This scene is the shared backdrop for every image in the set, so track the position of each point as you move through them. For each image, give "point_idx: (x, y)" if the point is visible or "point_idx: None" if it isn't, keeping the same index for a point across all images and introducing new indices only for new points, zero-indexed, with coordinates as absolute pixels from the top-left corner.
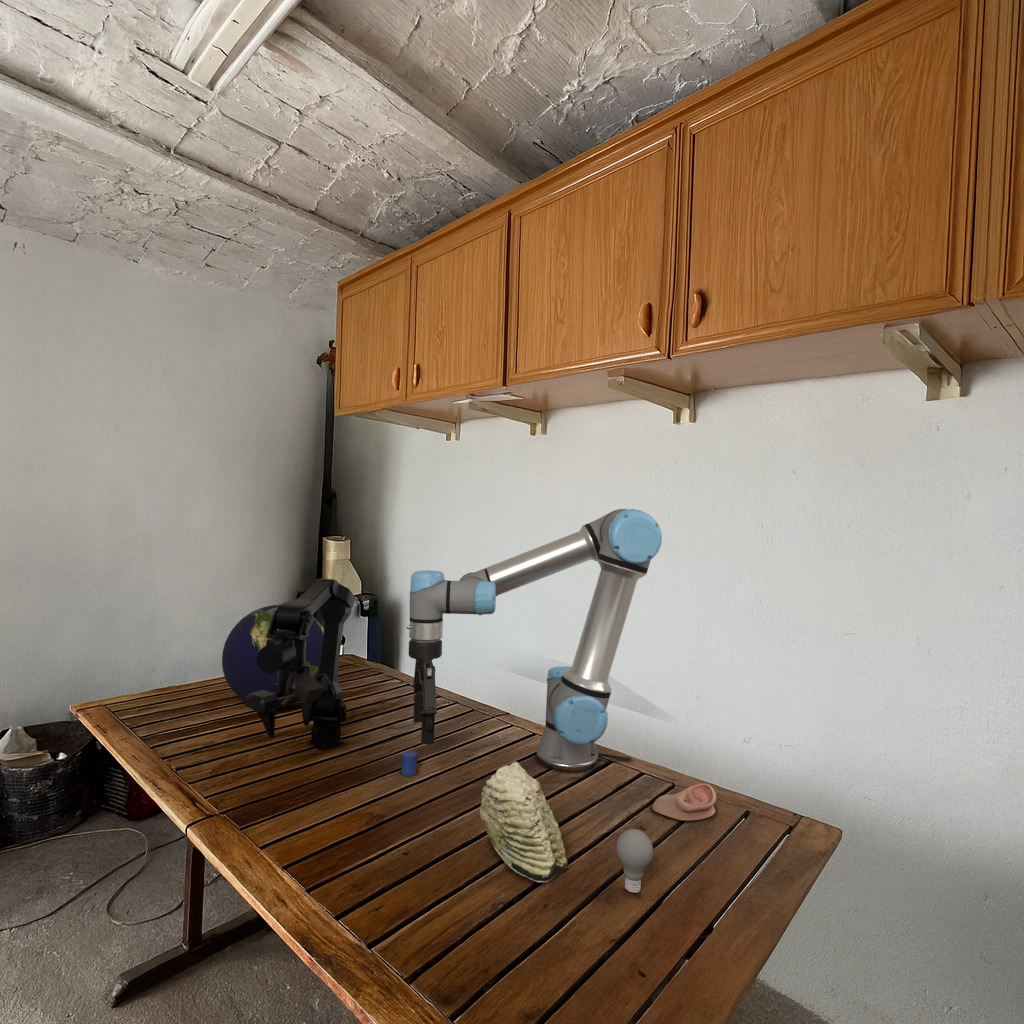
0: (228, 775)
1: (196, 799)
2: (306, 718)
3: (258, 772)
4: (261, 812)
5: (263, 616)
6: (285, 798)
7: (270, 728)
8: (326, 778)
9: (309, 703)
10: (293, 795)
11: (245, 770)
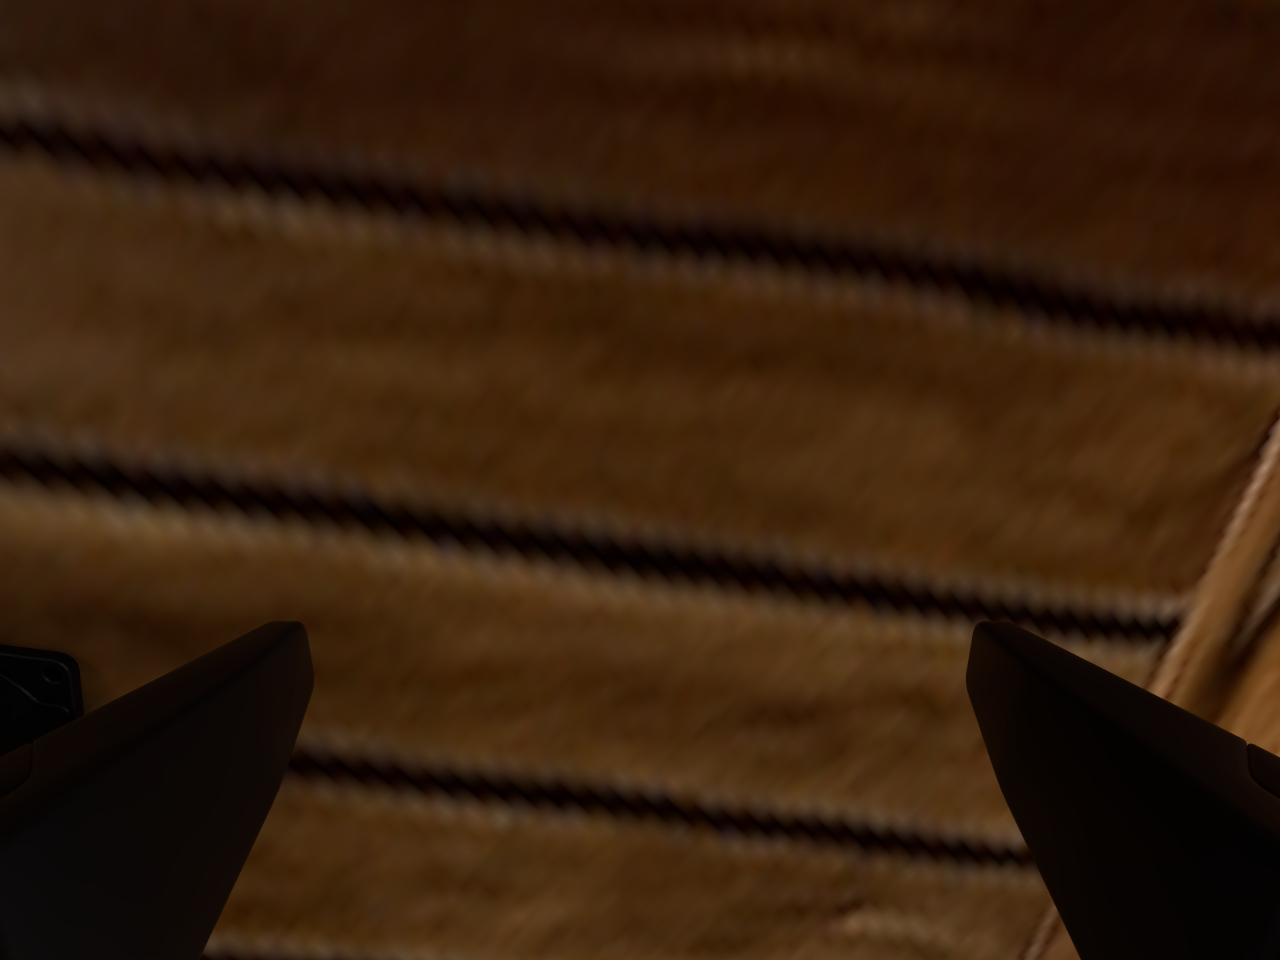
0: (840, 791)
1: (1220, 652)
2: (250, 715)
3: (680, 688)
4: (1177, 80)
5: None
6: (875, 137)
7: (1163, 708)
8: (371, 171)
9: (1, 958)
10: (794, 128)
11: (716, 775)
